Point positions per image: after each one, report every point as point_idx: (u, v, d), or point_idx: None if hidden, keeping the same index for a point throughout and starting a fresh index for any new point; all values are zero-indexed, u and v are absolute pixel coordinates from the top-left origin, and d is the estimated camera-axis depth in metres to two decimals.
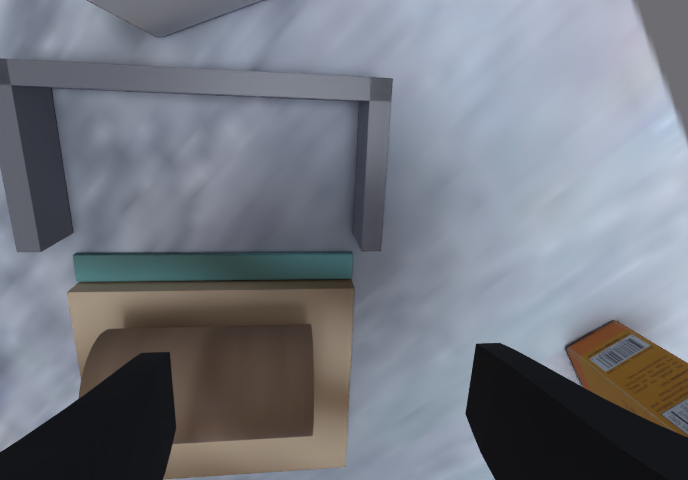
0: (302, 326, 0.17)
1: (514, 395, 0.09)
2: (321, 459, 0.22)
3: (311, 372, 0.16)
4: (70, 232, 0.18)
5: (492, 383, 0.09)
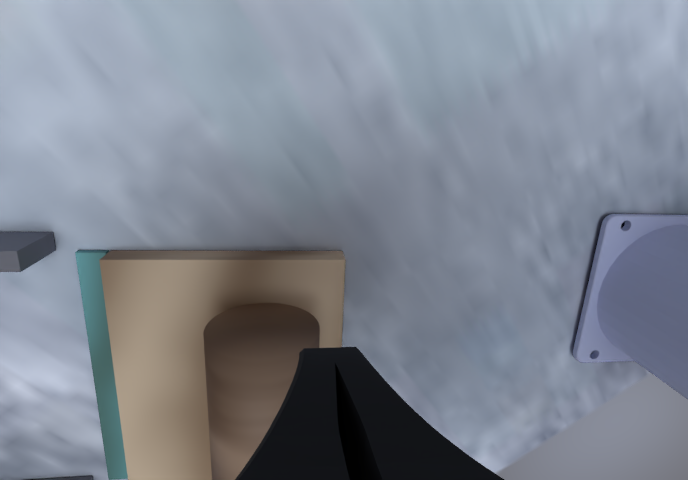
0: (249, 368, 0.15)
1: (341, 403, 0.08)
2: (331, 286, 0.19)
3: (309, 346, 0.16)
4: (88, 479, 0.21)
5: None
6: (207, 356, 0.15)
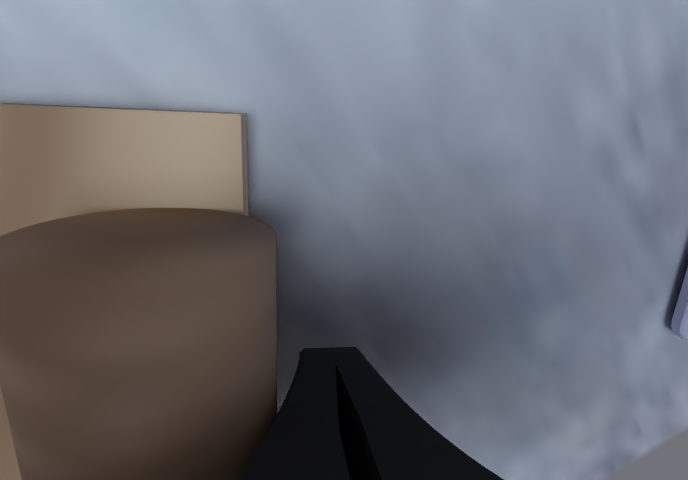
0: (223, 295, 0.06)
1: (341, 403, 0.08)
2: (214, 174, 0.09)
3: None
4: None
5: None
6: (61, 331, 0.05)
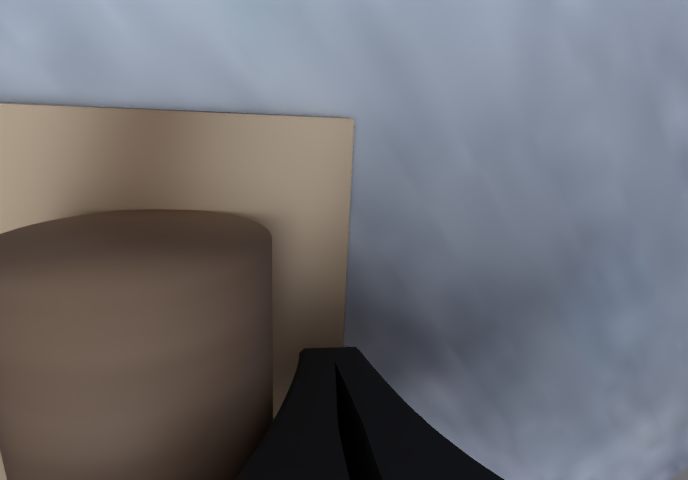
0: (15, 320, 0.05)
1: (341, 403, 0.08)
2: (324, 178, 0.09)
3: (214, 282, 0.06)
4: None
5: None
6: None
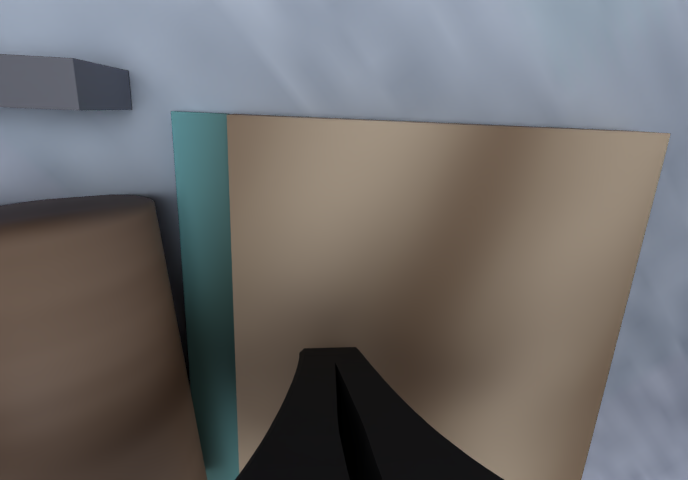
0: None
1: (341, 403, 0.08)
2: (634, 187, 0.10)
3: (142, 219, 0.08)
4: None
5: None
6: None
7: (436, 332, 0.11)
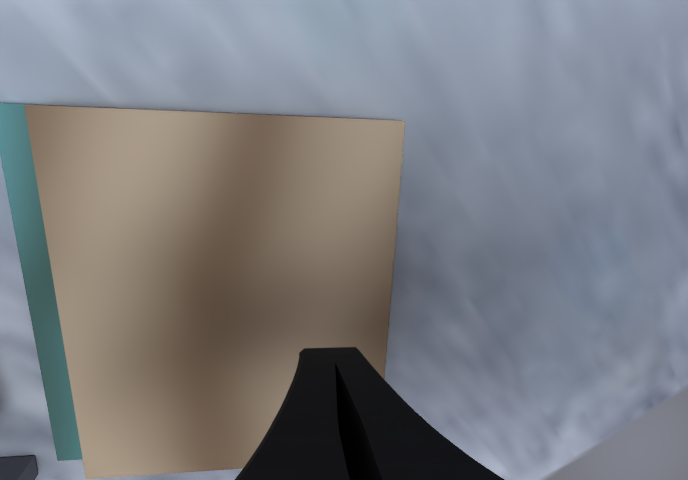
0: None
1: (341, 403, 0.08)
2: (382, 164, 0.13)
3: None
4: (28, 460, 0.15)
5: None
6: None
7: (229, 285, 0.13)
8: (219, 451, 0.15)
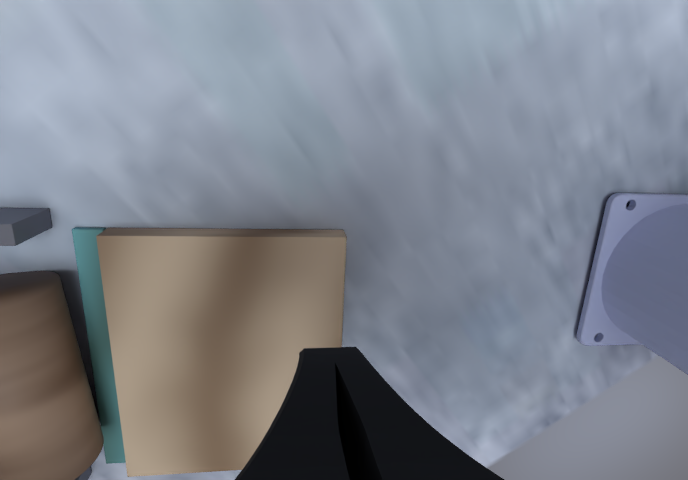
0: None
1: (341, 403, 0.08)
2: (331, 265, 0.19)
3: (46, 293, 0.16)
4: None
5: None
6: None
7: (228, 344, 0.19)
8: (221, 457, 0.21)
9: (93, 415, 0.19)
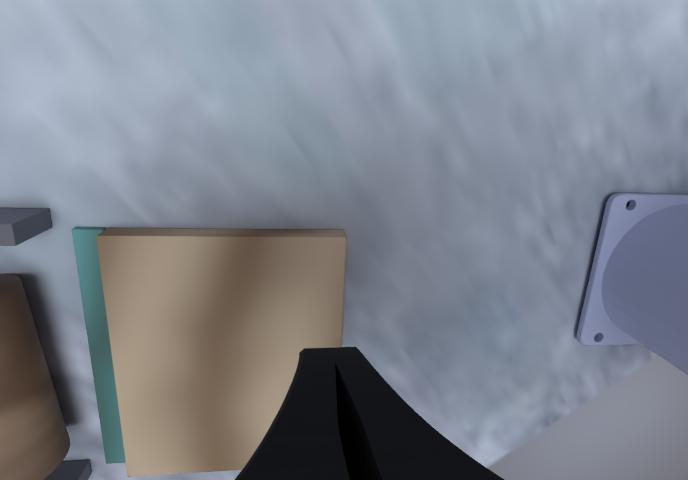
0: None
1: (341, 403, 0.08)
2: (331, 265, 0.19)
3: None
4: (85, 463, 0.21)
5: None
6: None
7: (228, 344, 0.19)
8: (221, 457, 0.21)
9: (31, 446, 0.17)
